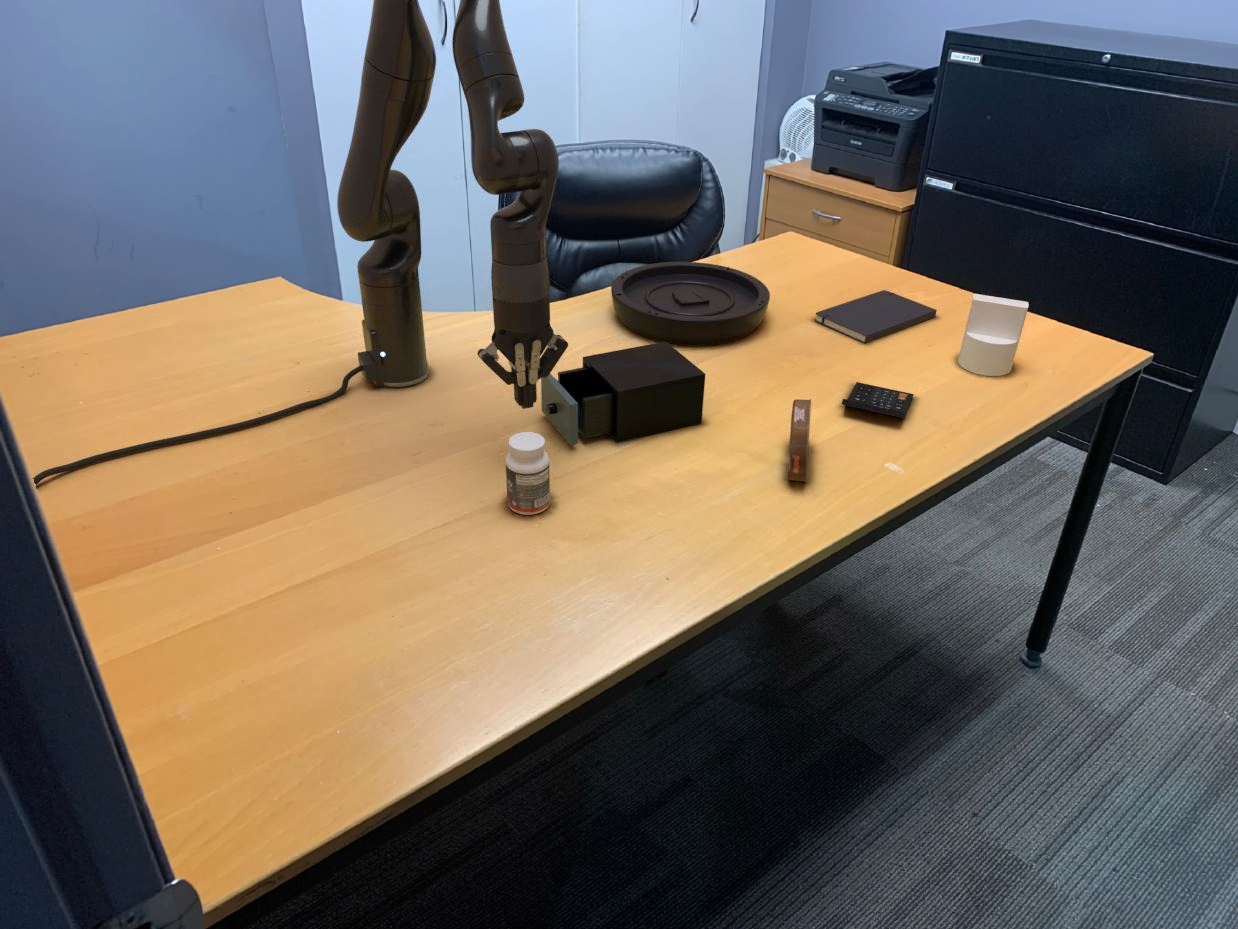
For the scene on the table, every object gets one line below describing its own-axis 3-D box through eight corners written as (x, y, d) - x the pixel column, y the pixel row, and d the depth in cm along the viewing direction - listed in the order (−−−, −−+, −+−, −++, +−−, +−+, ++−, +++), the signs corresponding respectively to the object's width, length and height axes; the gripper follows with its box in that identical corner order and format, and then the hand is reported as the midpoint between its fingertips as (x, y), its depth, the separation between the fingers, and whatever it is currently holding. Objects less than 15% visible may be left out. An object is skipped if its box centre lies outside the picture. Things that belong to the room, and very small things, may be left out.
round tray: (729, 281, 195) (592, 294, 187) (732, 254, 192) (592, 266, 184) (793, 339, 171) (639, 357, 163) (797, 309, 168) (640, 326, 160)
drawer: (563, 447, 135) (562, 406, 132) (534, 412, 144) (533, 373, 140) (652, 427, 141) (654, 387, 137) (619, 395, 149) (620, 356, 146)
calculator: (912, 398, 153) (916, 382, 151) (899, 430, 144) (902, 413, 142) (855, 386, 156) (858, 370, 154) (839, 416, 147) (842, 399, 145)
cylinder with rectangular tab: (955, 370, 162) (971, 305, 156) (960, 350, 169) (975, 287, 163) (1010, 380, 159) (1028, 314, 153) (1012, 359, 166) (1029, 295, 160)
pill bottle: (507, 492, 127) (504, 429, 121) (549, 491, 127) (548, 428, 122) (507, 517, 122) (504, 452, 116) (550, 516, 122) (549, 451, 117)
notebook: (864, 343, 171) (935, 317, 182) (866, 335, 170) (936, 309, 181) (812, 320, 179) (883, 296, 190) (813, 312, 178) (884, 289, 189)
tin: (805, 493, 128) (813, 441, 124) (782, 490, 129) (789, 438, 124) (808, 439, 141) (816, 389, 136) (787, 436, 141) (794, 387, 137)
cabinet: (616, 443, 138) (618, 391, 134) (582, 405, 148) (582, 356, 143) (701, 423, 144) (705, 373, 139) (663, 388, 154) (665, 341, 149)
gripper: (556, 273, 128) (558, 385, 137) (463, 287, 123) (472, 403, 132) (578, 291, 122) (579, 408, 131) (482, 307, 117) (490, 427, 126)
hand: (525, 405), depth 131 cm, fingers closed
